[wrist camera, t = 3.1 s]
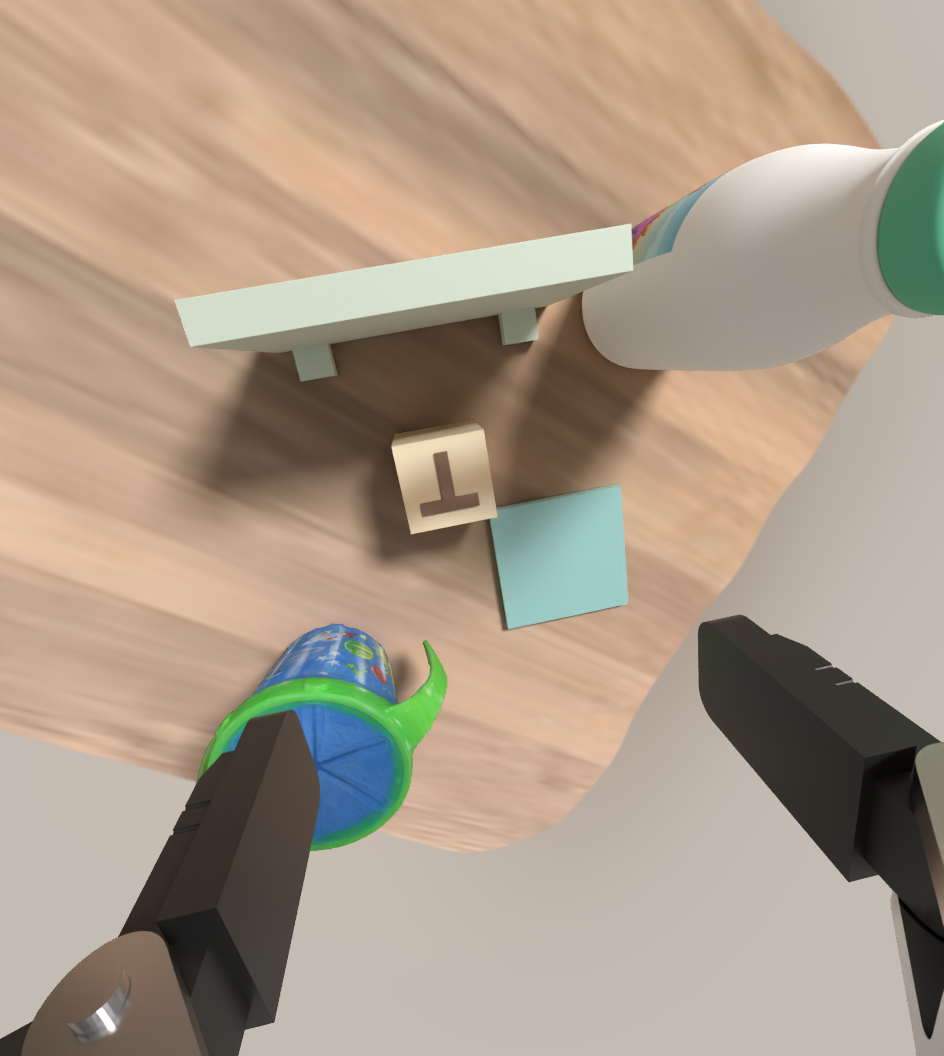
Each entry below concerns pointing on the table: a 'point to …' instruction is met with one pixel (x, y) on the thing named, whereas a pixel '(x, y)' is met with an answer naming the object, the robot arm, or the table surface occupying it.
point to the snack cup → (344, 726)
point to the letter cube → (444, 475)
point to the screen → (407, 297)
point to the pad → (561, 555)
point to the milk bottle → (779, 259)
